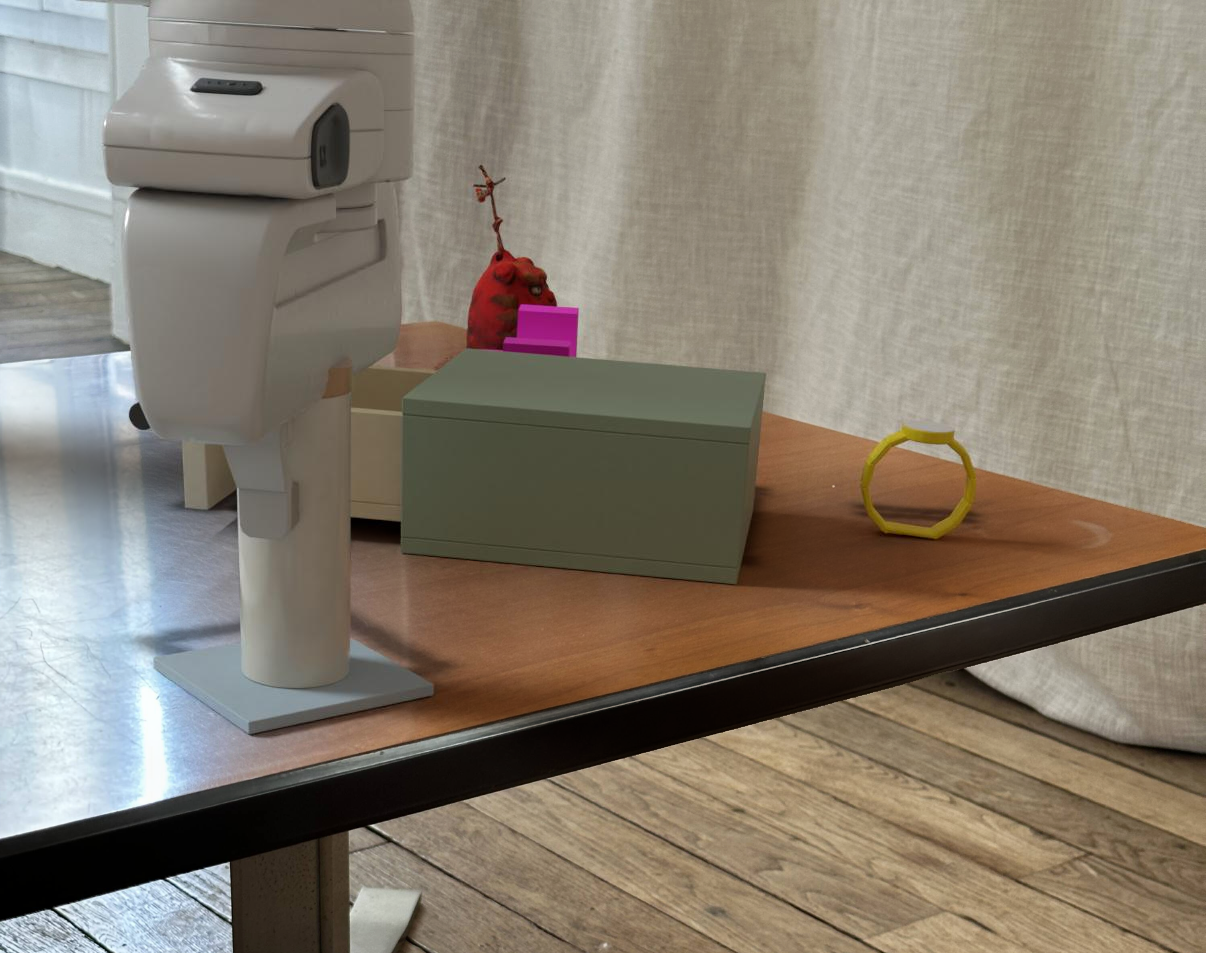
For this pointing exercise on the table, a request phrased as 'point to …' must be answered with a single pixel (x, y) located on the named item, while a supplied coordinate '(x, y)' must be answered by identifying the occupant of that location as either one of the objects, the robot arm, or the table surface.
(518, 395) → the cabinet
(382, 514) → the drawer
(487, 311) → the red clay folk toy
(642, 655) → the table surface
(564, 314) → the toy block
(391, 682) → the mat
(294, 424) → the spice jar
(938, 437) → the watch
